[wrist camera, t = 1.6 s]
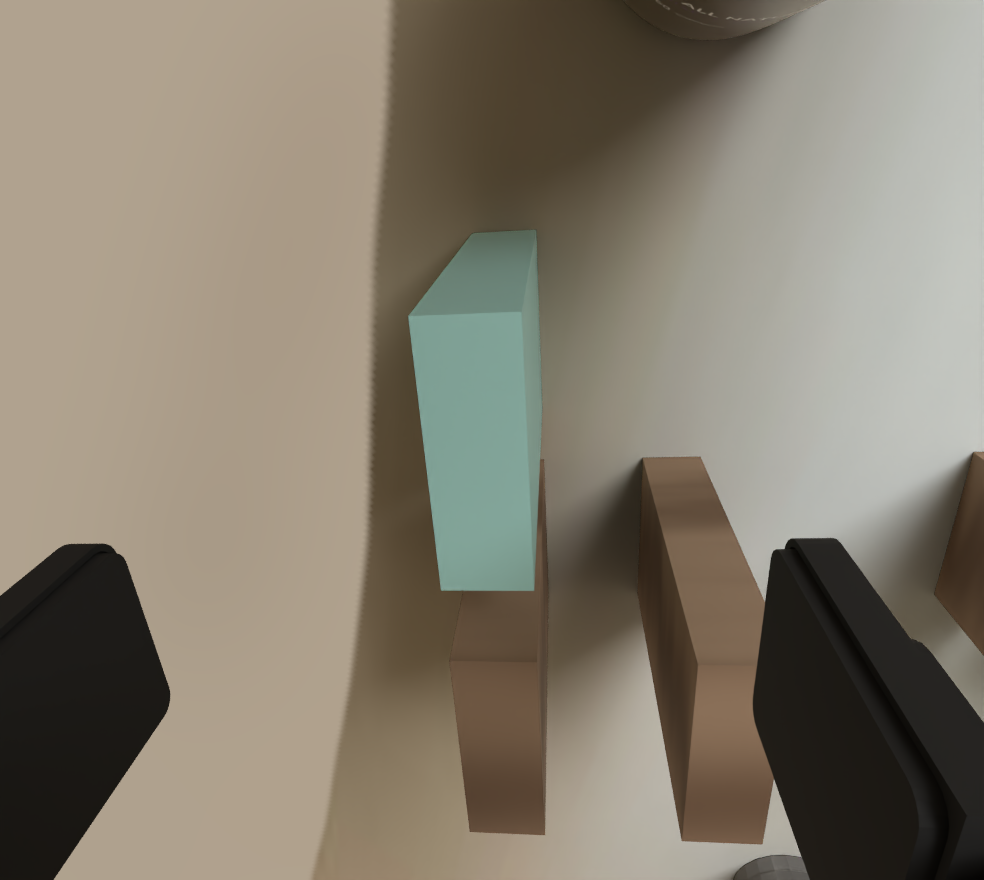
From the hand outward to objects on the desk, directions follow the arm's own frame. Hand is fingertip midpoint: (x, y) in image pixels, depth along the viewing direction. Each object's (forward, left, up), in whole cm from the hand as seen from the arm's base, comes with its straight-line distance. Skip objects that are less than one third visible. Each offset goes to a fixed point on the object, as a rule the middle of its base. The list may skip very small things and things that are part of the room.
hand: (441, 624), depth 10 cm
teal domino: (-1, 0, -14) cm, 14 cm away
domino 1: (+7, 0, -14) cm, 16 cm away
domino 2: (+7, +6, -14) cm, 17 cm away
